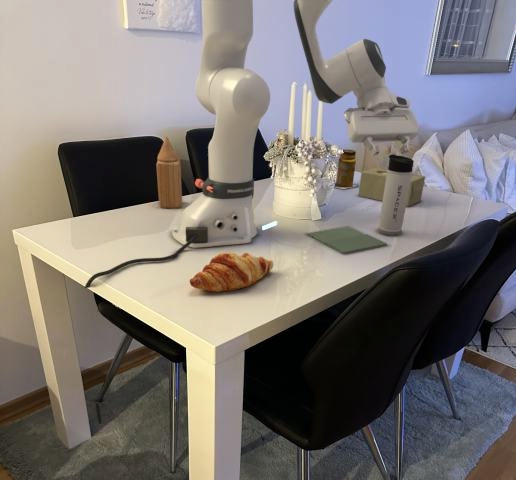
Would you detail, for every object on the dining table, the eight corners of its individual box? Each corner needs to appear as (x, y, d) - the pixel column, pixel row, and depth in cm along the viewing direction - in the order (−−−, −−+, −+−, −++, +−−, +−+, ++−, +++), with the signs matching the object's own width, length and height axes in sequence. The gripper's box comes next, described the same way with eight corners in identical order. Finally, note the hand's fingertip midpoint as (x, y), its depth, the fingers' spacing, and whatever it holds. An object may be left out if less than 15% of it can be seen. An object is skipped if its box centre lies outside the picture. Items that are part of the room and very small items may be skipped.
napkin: (344, 254, 124) (344, 251, 124) (306, 234, 136) (307, 232, 135) (386, 245, 130) (387, 243, 130) (347, 227, 142) (348, 225, 141)
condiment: (357, 186, 182) (362, 151, 176) (343, 189, 177) (347, 154, 171) (341, 182, 187) (345, 147, 180) (327, 185, 182) (330, 150, 175)
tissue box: (357, 195, 171) (363, 146, 163) (370, 190, 177) (377, 143, 169) (409, 207, 161) (418, 155, 153) (421, 201, 168) (431, 151, 159)
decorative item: (160, 202, 157) (156, 133, 147) (182, 202, 158) (179, 133, 147) (159, 208, 152) (154, 137, 141) (181, 208, 152) (178, 137, 142)
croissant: (263, 280, 117) (254, 246, 116) (290, 274, 109) (281, 238, 108) (185, 303, 105) (174, 265, 104) (209, 297, 97) (198, 257, 96)
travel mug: (383, 226, 143) (395, 152, 133) (404, 232, 140) (418, 156, 129) (372, 231, 139) (384, 156, 129) (394, 237, 136) (408, 160, 125)
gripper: (347, 100, 129) (362, 147, 126) (414, 99, 136) (429, 144, 133) (337, 116, 135) (351, 162, 132) (401, 115, 142) (415, 159, 139)
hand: (391, 153), depth 133 cm, fingers open, 8 cm apart
